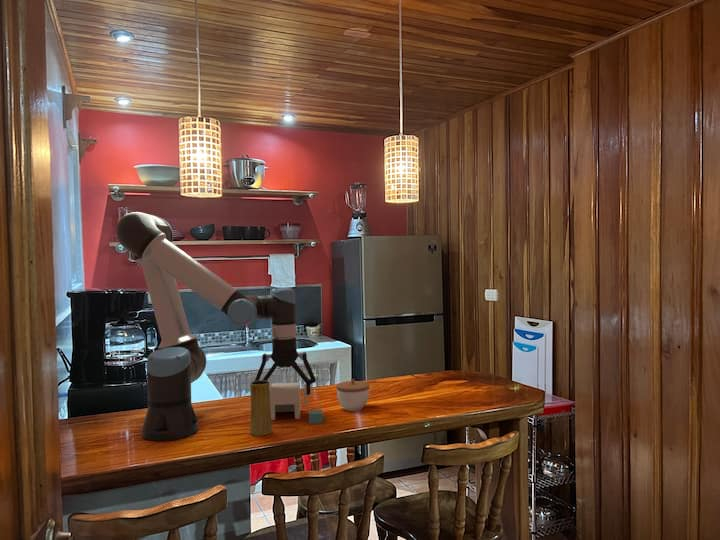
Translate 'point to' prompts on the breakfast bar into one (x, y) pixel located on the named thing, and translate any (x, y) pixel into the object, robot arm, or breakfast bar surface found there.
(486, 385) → the breakfast bar surface
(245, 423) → the breakfast bar surface
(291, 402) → the notched white block
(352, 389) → the lidded jar
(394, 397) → the breakfast bar surface
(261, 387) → the vase
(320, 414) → the teal block
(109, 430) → the breakfast bar surface
